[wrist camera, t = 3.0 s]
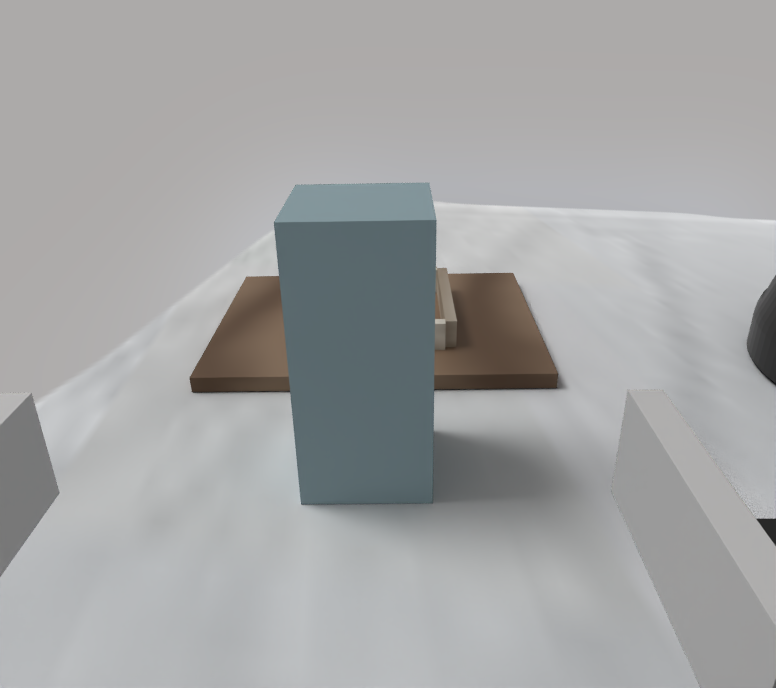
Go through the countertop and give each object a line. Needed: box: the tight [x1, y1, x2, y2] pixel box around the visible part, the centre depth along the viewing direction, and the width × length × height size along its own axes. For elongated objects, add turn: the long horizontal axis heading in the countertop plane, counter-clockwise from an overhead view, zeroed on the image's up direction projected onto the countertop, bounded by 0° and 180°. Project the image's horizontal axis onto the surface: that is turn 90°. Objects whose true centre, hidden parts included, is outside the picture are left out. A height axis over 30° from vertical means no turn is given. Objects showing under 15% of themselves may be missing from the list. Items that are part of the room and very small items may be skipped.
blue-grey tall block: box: [274, 183, 436, 504], centre depth 25 cm, size 5×5×11 cm
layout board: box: [190, 267, 558, 392], centre depth 39 cm, size 18×14×2 cm
